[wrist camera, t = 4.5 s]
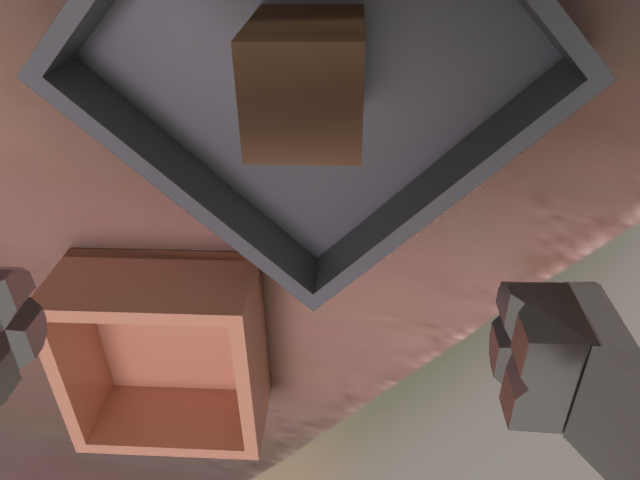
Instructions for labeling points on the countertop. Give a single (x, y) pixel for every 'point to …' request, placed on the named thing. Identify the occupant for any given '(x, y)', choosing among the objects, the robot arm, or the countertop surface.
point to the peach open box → (158, 352)
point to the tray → (378, 118)
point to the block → (301, 84)
